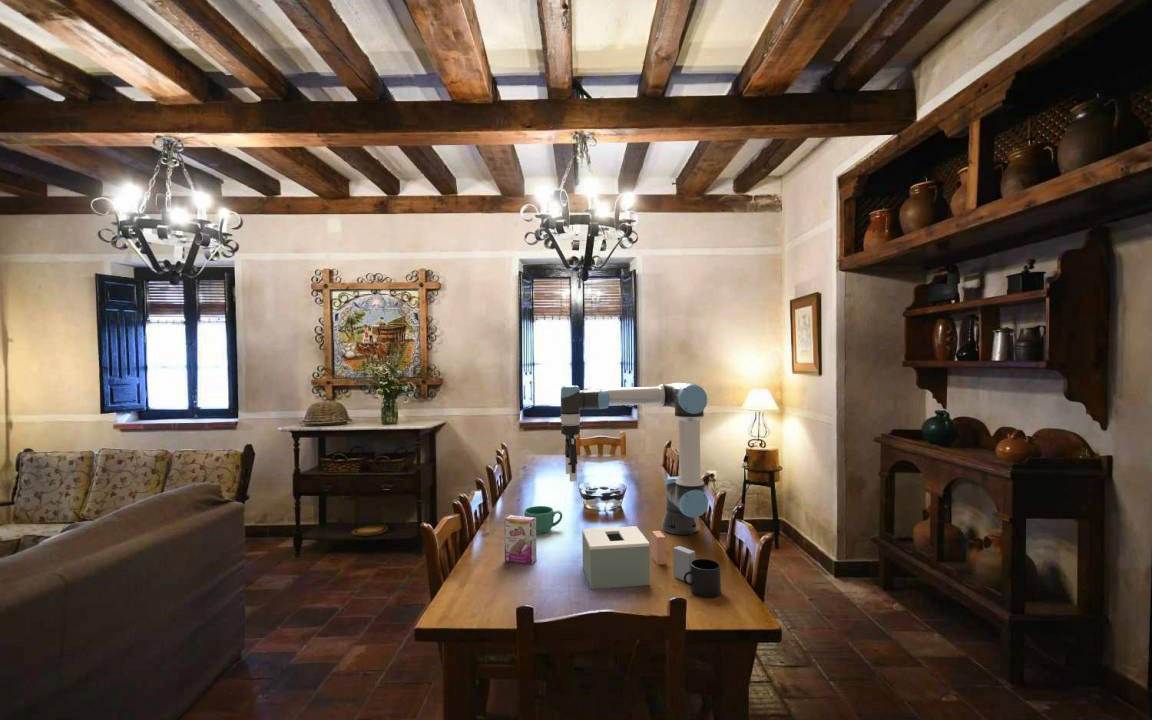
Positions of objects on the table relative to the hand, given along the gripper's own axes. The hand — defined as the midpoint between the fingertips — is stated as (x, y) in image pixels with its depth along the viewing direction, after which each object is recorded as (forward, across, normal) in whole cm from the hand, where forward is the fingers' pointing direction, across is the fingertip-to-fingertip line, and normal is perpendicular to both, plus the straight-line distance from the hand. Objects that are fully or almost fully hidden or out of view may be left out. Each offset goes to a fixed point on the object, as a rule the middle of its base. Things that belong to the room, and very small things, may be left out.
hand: (571, 477), depth 217 cm
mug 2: (+28, +48, +36) cm, 66 cm away
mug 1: (+28, -21, -10) cm, 37 cm away
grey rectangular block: (+28, +37, +34) cm, 57 cm away
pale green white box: (+28, +31, +11) cm, 43 cm away
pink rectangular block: (+28, +20, +30) cm, 46 cm away
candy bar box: (+28, +12, -21) cm, 37 cm away
